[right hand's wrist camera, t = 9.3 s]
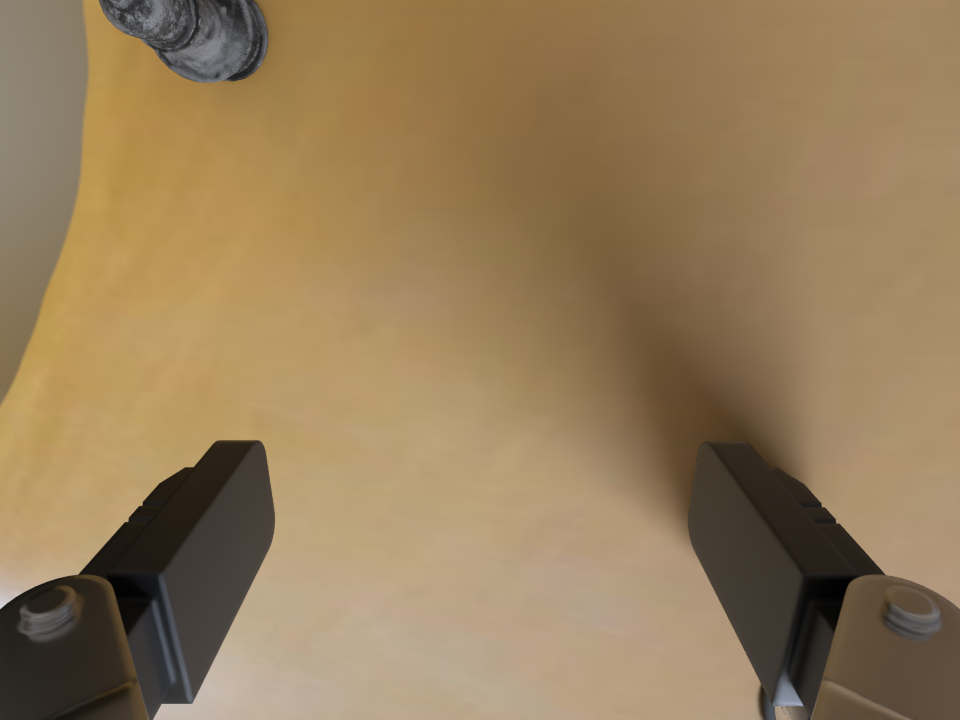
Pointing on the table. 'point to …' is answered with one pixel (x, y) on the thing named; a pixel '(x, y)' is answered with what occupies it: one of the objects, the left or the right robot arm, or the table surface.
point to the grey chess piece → (196, 34)
